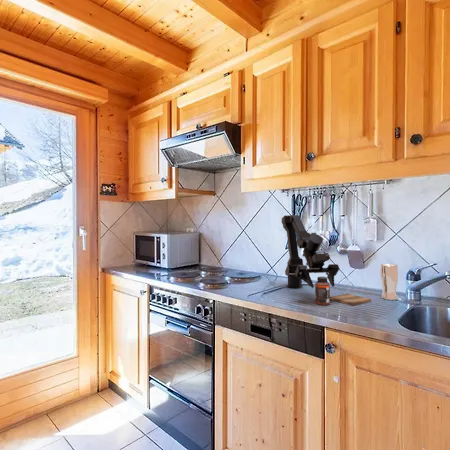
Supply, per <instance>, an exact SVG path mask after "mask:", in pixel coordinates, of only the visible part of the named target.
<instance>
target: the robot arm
mask: <svg viewBox="0 0 450 450" xmlns="http://www.w3.org/2000/svg"><path fill="white" fill-rule="evenodd" d="M301 217H302V216H301V215H299V214H291V215H289V214H288V215H283V217H281V224H282V228H283V229H284V231H286V235H287V236H286V237H287V245H288V254H289V258H288V261H287V263H286V264H287V265H286V268H285V270H284V275H285V276H286V277H287V285H286V288H291V289H299V288H303V285H302V283H303V281H304V282H305V283H306V284H307V285H308V286H309V287H310V288H311V289H314V286H315V285H314V282H313V280H312V278H311V275H310V274H322V273H325V275H326V277H327V281H328V283H329V284H330V286H332V288H334V287H335V276H337V274H338V272H339V271H340V266H339V264H338V263H332V264H328V265H327V267H324V266H325V262H328V261H329V260H330V259H331V255H330V254H329V252H323V253H317V252H318V251H319V250H320V248H321V246H322V243H323V242H324V241H323V240H324V239H323V237H322V236H321V235H320V234H317V232H311V233H309V232H308V231H307V229H306V228H305V225H304V223H303V220H302V218H301ZM298 248H299V249H303V251H302V257H304V258H305V262H306V263H305V264H304V261H303V258H301V257H300V256H299V249H298Z"/></svg>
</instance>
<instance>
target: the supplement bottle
mask: <svg viewBox="0 0 450 450" xmlns="http://www.w3.org/2000/svg"><path fill="white" fill-rule="evenodd" d="M314 286H315V288H314V289H315V291H314V293H315V304H317V305H320V306H329V305H330V303H331V300H330V297H331V289H330V288H331V284H330V282H329V280H328V278H327V276H317V280H316V282H315V284H314Z"/></svg>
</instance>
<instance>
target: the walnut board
mask: <svg viewBox="0 0 450 450" xmlns="http://www.w3.org/2000/svg"><path fill="white" fill-rule="evenodd" d="M330 301H334V302H338V303H340V304H343V305H349V306H351V307H354V306H358V305H362V304H367V303H370V302H372V299H371V298H369V297H364V296H360V295H356V294H352V293H343V294H342V293H341V294H337V295H334V296H333V295H332V296H330Z"/></svg>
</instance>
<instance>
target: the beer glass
mask: <svg viewBox="0 0 450 450" xmlns="http://www.w3.org/2000/svg"><path fill="white" fill-rule="evenodd" d="M379 272H380V273H379V274H380V280H381V287H382V294H381V298H382V299H383V300H390V301H395V300H396V301H397V300H398V296H397V286H398V280H399V269H398V264H392V263H383V264H380V271H379Z"/></svg>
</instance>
